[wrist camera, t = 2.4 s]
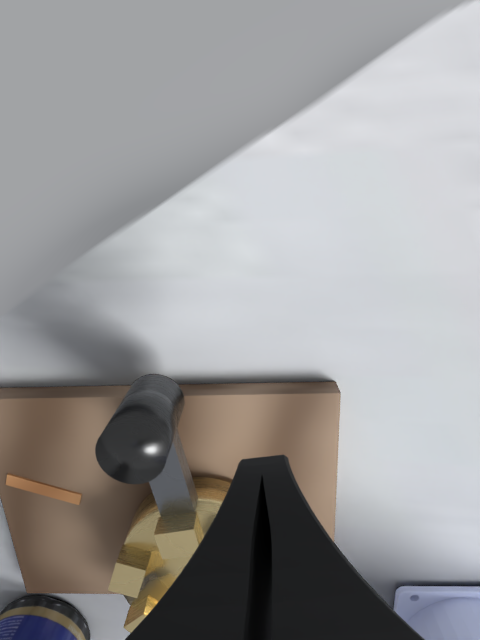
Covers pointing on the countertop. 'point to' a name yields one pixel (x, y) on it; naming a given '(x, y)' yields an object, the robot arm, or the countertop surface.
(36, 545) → the wooden board
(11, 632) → the pill bottle
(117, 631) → the countertop surface
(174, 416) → the gold and black piece
